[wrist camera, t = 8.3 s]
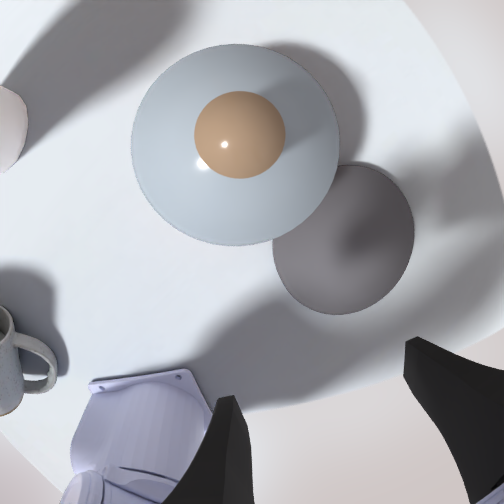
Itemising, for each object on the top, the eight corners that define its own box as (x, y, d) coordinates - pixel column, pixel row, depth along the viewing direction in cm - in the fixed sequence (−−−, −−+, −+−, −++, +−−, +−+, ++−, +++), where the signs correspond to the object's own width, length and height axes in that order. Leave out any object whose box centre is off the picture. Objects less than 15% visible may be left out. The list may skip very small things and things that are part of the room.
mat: (289, 327, 21) (291, 331, 20) (255, 184, 17) (256, 185, 17) (412, 286, 21) (416, 290, 20) (399, 154, 18) (404, 154, 17)
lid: (173, 266, 15) (155, 304, 11) (115, 88, 12) (77, 65, 8) (353, 209, 15) (395, 228, 11) (301, 34, 12) (327, -5, 8)
